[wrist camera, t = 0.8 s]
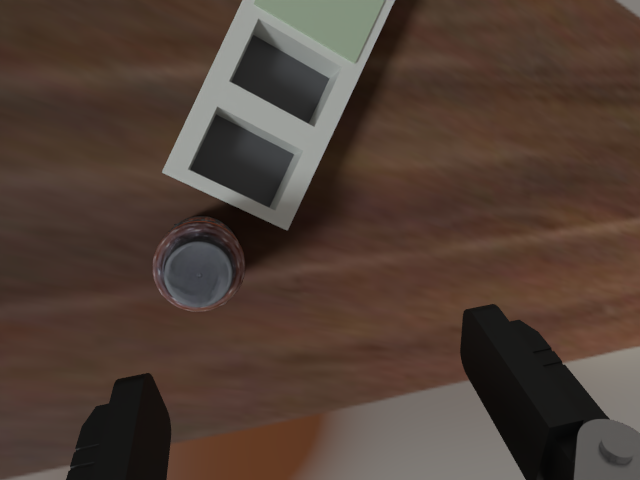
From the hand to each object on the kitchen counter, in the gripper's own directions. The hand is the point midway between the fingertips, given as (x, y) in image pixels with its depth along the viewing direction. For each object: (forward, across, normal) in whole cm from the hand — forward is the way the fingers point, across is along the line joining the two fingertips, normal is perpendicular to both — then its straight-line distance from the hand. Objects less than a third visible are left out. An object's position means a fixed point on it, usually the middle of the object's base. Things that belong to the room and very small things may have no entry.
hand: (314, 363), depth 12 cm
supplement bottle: (+25, +7, +12) cm, 29 cm away
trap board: (+31, -2, 0) cm, 31 cm away
